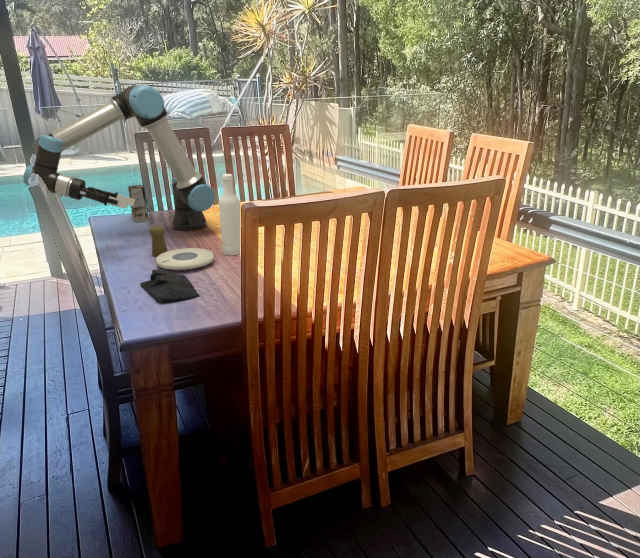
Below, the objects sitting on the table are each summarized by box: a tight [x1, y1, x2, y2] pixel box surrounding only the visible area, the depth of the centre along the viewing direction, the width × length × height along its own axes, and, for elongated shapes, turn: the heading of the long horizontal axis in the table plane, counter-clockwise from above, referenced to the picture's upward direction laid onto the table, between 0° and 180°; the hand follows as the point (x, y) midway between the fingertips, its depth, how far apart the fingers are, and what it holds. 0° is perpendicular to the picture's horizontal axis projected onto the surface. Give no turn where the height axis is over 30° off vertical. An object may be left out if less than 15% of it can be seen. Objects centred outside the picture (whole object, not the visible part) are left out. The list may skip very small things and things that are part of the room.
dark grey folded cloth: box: [140, 269, 200, 303], centre depth 166 cm, size 15×22×5 cm
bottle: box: [218, 173, 241, 256], centre depth 197 cm, size 8×8×30 cm
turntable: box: [155, 247, 215, 271], centre depth 189 cm, size 20×20×2 cm
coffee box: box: [127, 184, 149, 223], centre depth 248 cm, size 9×6×16 cm
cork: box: [149, 225, 168, 258], centre depth 199 cm, size 6×6×11 cm
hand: (130, 204), depth 195 cm, fingers open, 13 cm apart
